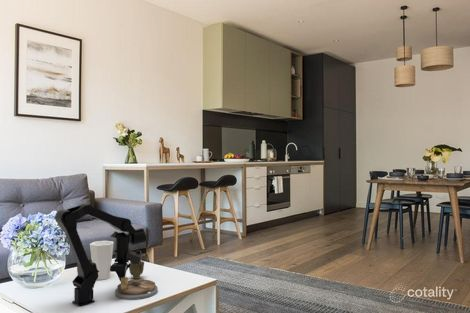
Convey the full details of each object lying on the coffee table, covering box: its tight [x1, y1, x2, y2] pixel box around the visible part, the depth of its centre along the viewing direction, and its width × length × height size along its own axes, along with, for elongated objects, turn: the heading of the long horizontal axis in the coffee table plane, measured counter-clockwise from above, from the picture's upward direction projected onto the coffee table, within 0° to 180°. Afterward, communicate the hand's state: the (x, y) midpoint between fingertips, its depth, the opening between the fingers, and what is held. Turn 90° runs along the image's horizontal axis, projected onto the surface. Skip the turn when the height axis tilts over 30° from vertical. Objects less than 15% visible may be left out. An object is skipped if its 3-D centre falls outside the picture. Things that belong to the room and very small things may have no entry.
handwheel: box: [116, 276, 156, 295], centre depth 176 cm, size 16×16×6 cm
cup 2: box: [128, 260, 145, 280], centre depth 197 cm, size 8×7×8 cm
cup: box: [89, 240, 115, 281], centre depth 198 cm, size 11×10×17 cm
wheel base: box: [114, 284, 158, 301], centre depth 176 cm, size 18×18×2 cm
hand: (122, 282), depth 176 cm, fingers closed
